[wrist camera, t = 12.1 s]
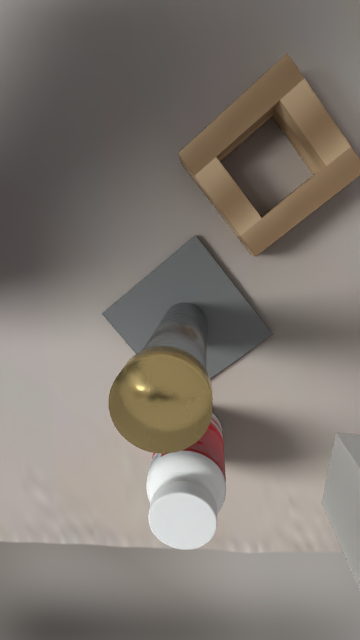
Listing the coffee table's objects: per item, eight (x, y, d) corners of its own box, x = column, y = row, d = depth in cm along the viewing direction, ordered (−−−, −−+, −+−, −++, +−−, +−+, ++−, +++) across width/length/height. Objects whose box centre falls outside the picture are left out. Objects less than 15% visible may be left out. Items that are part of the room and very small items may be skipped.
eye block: (181, 163, 27) (177, 153, 24) (278, 75, 25) (287, 52, 22) (251, 255, 28) (256, 256, 25) (349, 178, 26) (366, 169, 23)
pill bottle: (162, 399, 32) (138, 477, 21) (225, 405, 32) (232, 488, 21) (160, 454, 34) (136, 554, 23) (219, 460, 33) (224, 565, 22)
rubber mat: (103, 312, 31) (101, 313, 30) (195, 235, 28) (195, 235, 28) (177, 399, 32) (177, 402, 31) (271, 332, 30) (272, 334, 29)
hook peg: (158, 346, 30) (108, 447, 15) (161, 297, 29) (109, 352, 14) (208, 350, 30) (207, 458, 15) (212, 301, 29) (217, 362, 14)
